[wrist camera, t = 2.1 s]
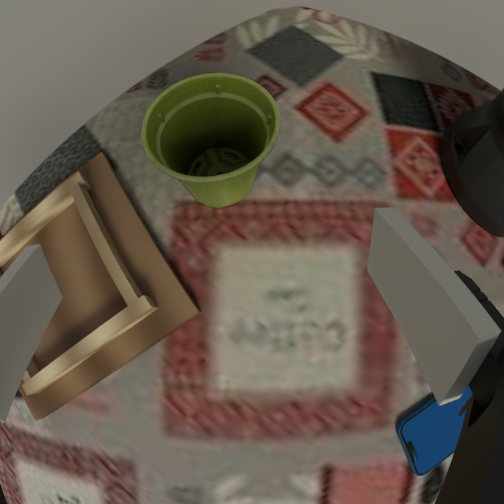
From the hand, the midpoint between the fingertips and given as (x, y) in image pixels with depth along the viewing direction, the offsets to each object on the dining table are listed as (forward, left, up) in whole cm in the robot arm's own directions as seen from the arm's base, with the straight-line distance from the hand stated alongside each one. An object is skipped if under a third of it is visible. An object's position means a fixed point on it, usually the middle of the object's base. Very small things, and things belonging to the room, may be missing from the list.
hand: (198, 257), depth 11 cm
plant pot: (-5, -9, -15) cm, 18 cm away
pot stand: (+13, -9, -15) cm, 21 cm away
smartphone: (-11, +23, -15) cm, 30 cm away
